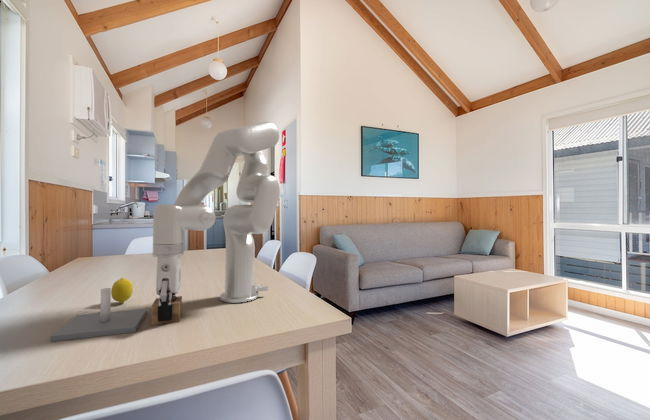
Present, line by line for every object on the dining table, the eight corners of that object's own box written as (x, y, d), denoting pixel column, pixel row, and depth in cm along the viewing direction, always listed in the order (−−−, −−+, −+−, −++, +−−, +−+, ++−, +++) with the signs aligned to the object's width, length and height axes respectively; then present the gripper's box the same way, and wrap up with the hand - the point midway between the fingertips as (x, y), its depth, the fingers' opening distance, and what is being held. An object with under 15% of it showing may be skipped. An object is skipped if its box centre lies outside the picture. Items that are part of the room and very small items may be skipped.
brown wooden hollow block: (181, 313, 83) (181, 296, 83) (179, 321, 77) (179, 302, 77) (155, 316, 81) (156, 298, 81) (151, 324, 75) (151, 305, 75)
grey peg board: (147, 312, 83) (147, 280, 83) (135, 331, 70) (135, 293, 70) (77, 319, 78) (78, 284, 78) (50, 341, 64) (51, 299, 65)
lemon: (121, 306, 88) (122, 280, 88) (106, 305, 89) (106, 279, 89) (136, 301, 93) (137, 276, 93) (122, 300, 94) (122, 275, 95)
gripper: (180, 253, 72) (179, 325, 72) (186, 245, 89) (185, 304, 88) (146, 255, 70) (144, 329, 69) (158, 246, 86) (157, 306, 86)
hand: (167, 314), depth 79 cm, fingers open, 7 cm apart
